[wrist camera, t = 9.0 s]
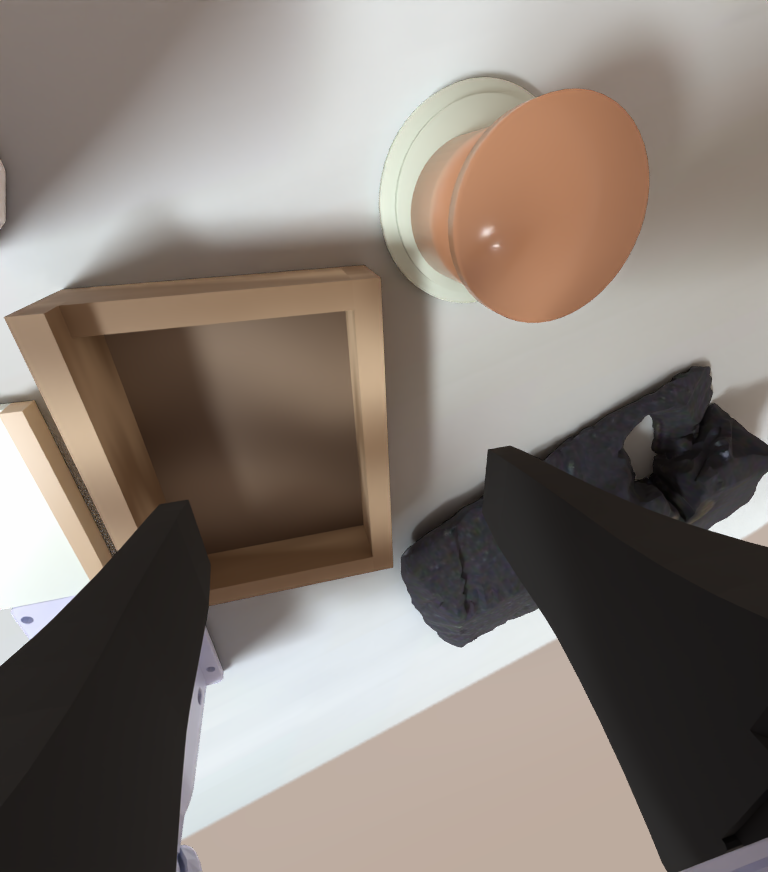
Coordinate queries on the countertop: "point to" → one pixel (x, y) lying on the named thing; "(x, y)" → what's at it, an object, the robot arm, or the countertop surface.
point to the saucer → (411, 150)
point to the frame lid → (41, 515)
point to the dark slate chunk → (603, 468)
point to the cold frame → (228, 415)
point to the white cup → (2, 195)
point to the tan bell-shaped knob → (535, 204)
